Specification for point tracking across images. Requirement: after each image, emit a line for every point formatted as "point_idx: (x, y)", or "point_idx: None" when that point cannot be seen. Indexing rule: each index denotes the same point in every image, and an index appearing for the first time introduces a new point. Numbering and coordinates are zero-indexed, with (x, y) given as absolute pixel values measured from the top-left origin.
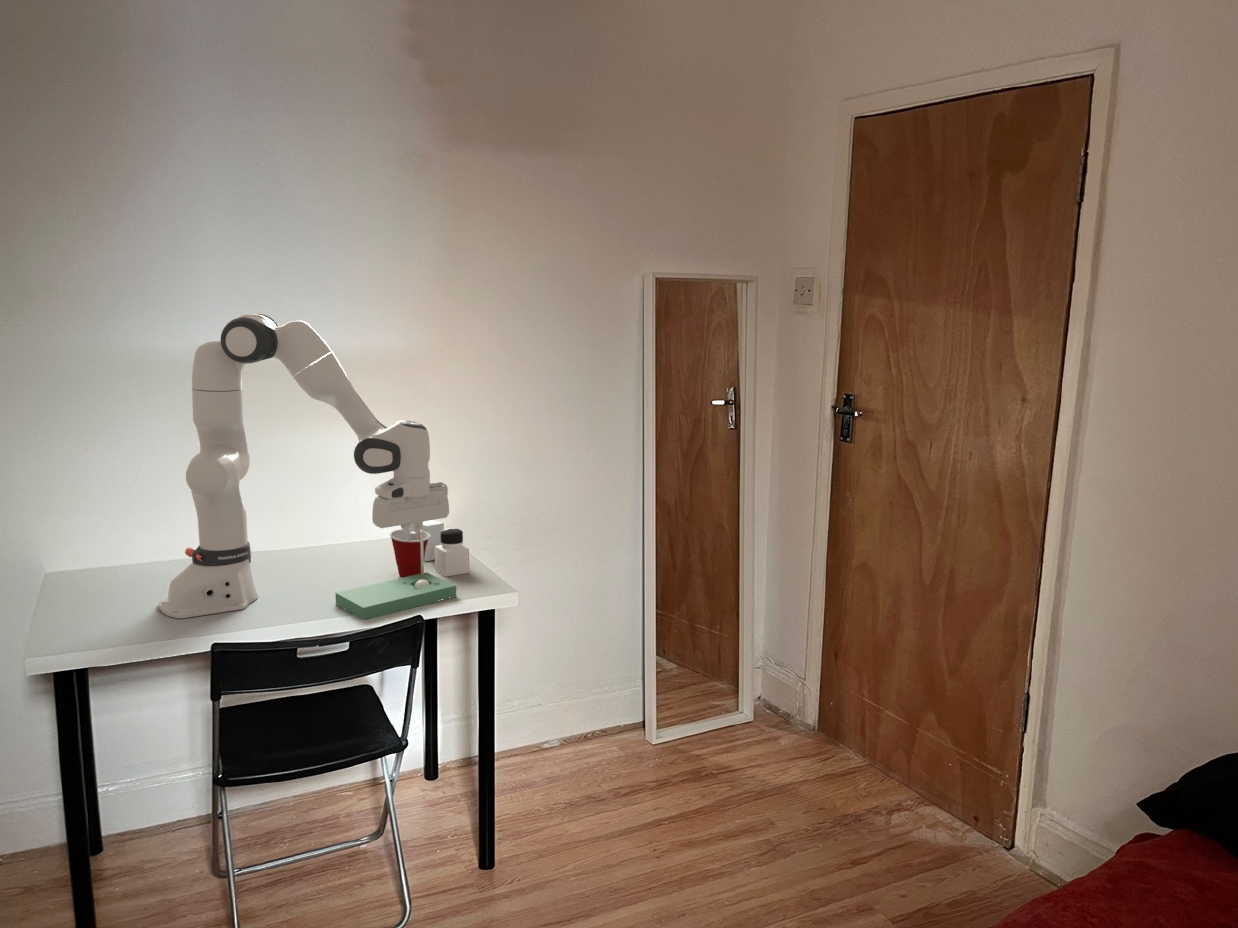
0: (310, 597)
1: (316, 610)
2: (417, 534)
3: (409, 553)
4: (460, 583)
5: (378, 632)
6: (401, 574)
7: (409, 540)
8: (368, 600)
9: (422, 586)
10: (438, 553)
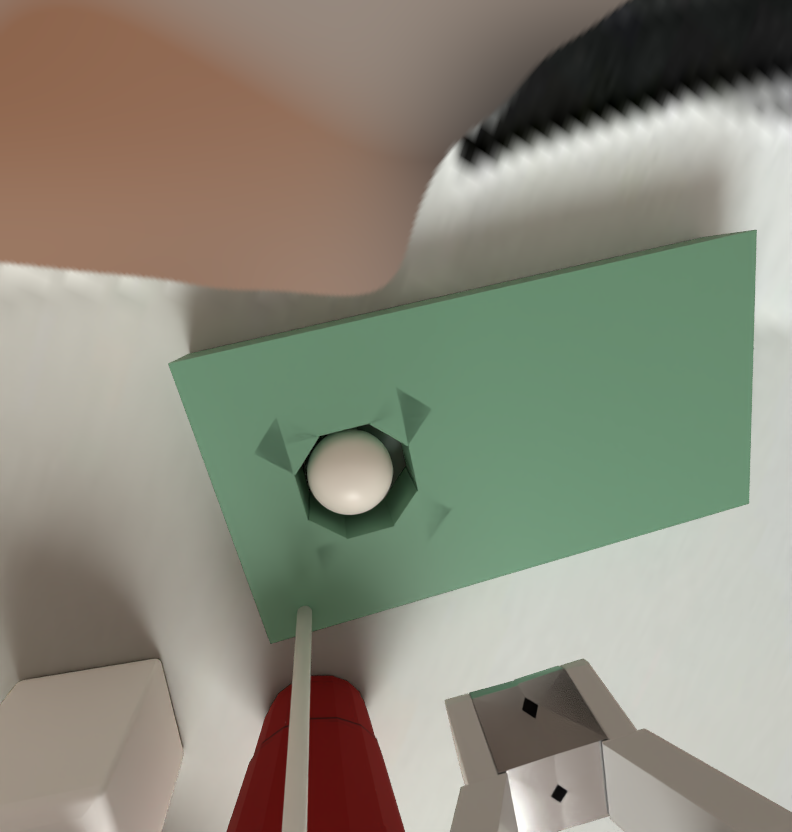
0: (737, 587)
1: (785, 442)
2: (480, 748)
3: (345, 793)
4: (108, 547)
5: (726, 13)
6: (365, 706)
7: (563, 665)
8: (688, 329)
9: (363, 441)
10: (140, 829)
